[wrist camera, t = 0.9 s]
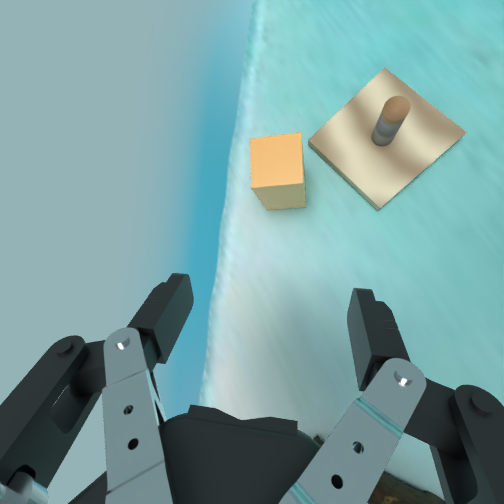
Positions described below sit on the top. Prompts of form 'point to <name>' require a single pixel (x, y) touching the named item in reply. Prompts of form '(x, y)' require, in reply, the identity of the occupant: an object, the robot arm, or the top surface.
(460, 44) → the top surface
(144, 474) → the robot arm
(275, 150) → the tall orange pillar
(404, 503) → the hand tool
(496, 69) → the top surface
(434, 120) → the post board
